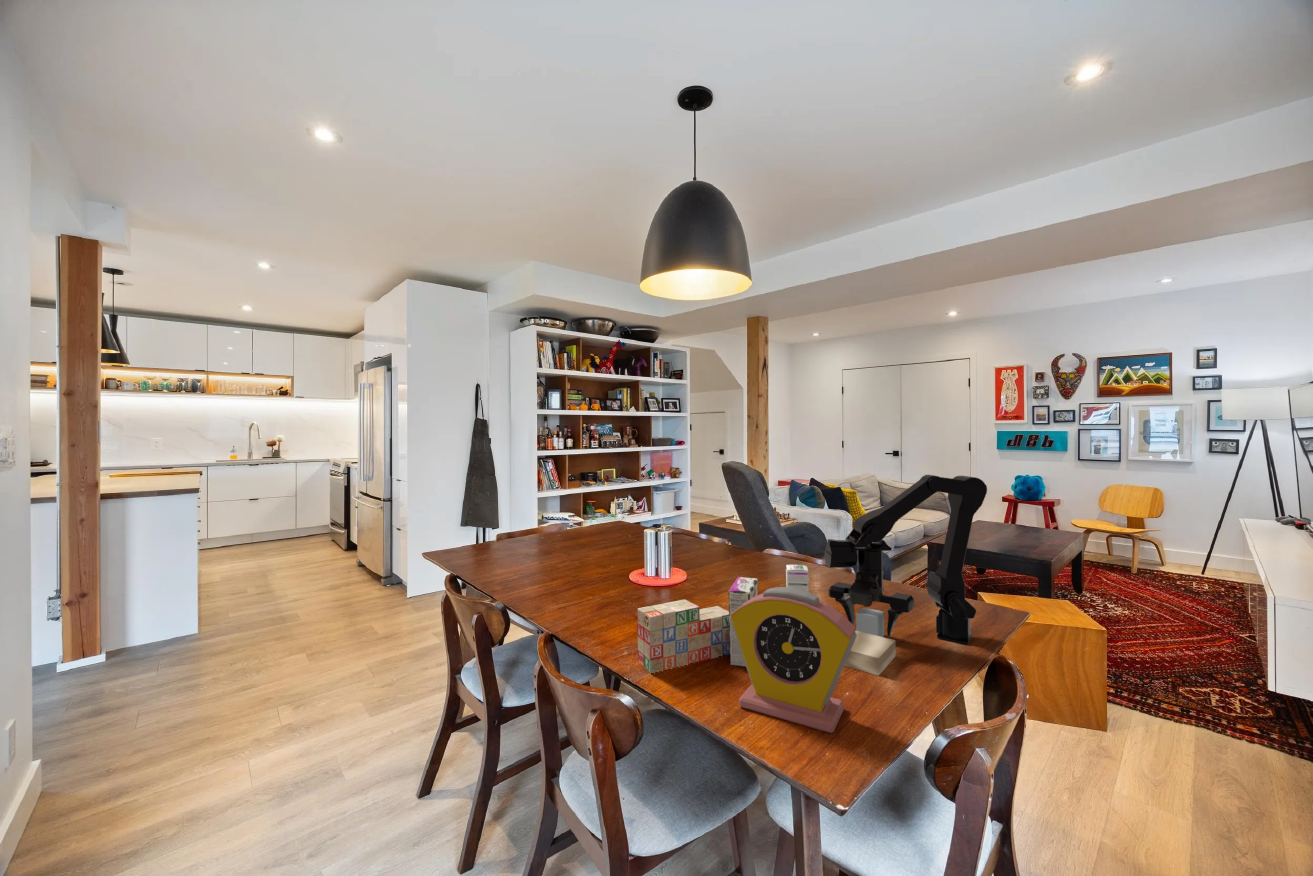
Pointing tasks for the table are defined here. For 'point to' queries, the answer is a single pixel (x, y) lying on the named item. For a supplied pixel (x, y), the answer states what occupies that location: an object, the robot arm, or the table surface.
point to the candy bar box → (737, 597)
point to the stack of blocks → (681, 634)
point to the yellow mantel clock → (793, 656)
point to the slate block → (870, 621)
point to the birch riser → (871, 653)
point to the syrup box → (797, 577)
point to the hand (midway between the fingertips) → (870, 631)
